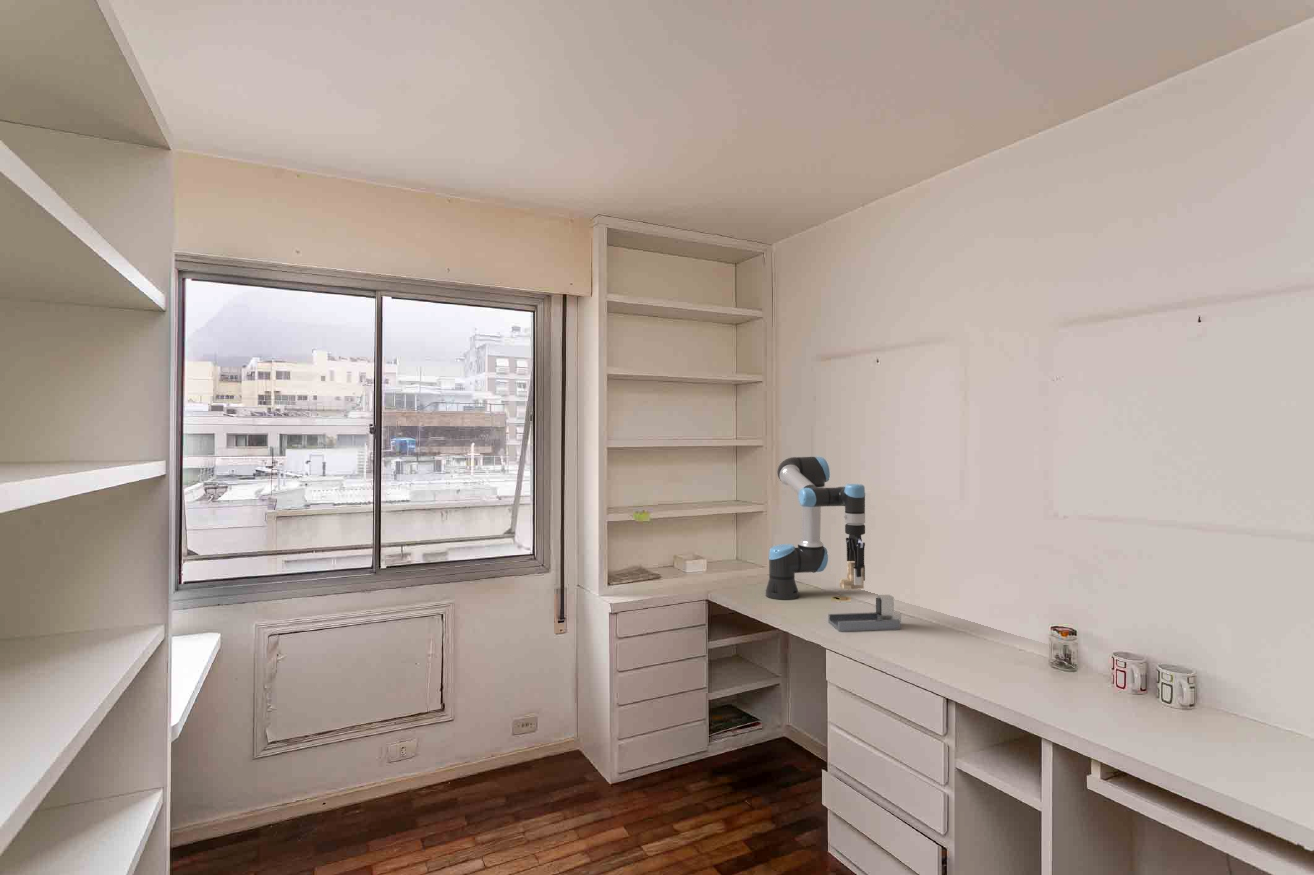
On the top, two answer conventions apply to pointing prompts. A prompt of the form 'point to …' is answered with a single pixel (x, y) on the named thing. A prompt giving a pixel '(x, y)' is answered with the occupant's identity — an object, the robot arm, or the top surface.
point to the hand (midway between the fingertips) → (855, 583)
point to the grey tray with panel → (869, 618)
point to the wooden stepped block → (852, 577)
